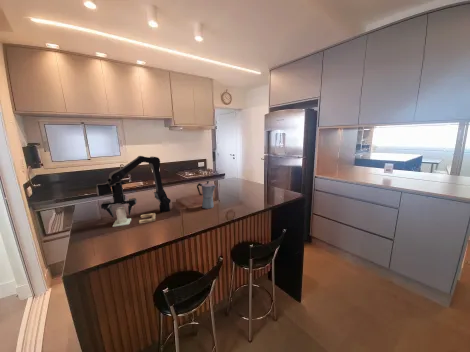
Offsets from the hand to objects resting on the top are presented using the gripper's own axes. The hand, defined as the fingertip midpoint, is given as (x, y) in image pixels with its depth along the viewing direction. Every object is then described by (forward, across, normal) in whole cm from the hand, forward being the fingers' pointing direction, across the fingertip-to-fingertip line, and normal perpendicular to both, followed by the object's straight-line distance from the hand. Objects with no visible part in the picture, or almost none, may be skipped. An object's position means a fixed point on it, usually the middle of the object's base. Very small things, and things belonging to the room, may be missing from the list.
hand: (121, 216), depth 127 cm
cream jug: (+4, 0, -1) cm, 4 cm away
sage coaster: (+4, 0, 0) cm, 4 cm away
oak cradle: (+4, -14, 0) cm, 15 cm away
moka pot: (+5, -56, -7) cm, 57 cm away
